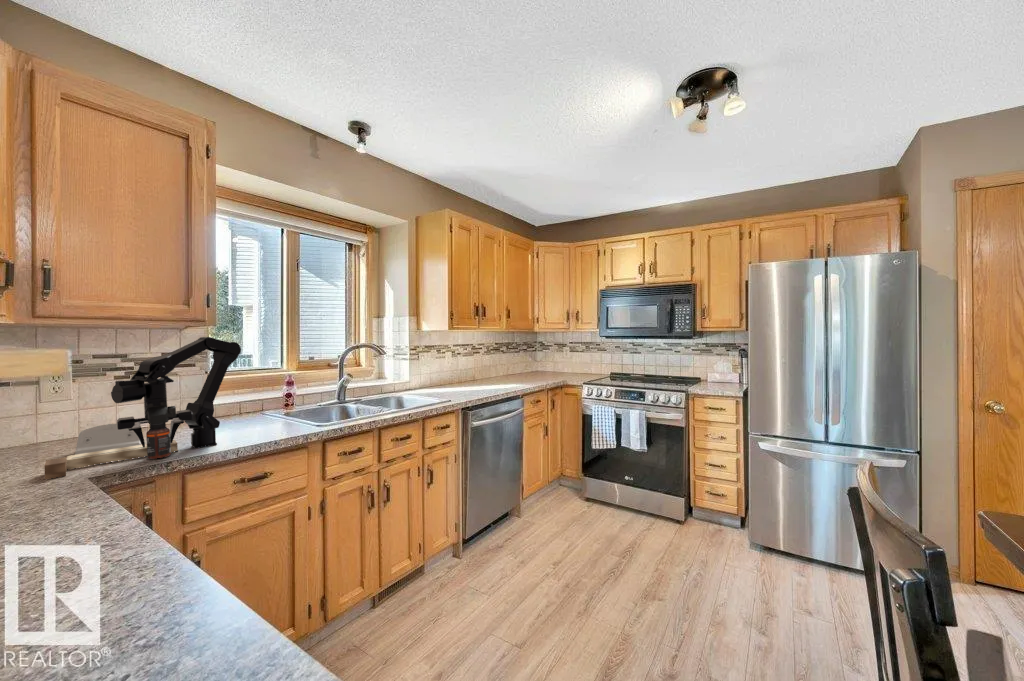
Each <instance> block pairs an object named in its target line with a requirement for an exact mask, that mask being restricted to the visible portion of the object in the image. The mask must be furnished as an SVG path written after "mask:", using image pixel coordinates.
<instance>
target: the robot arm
mask: <svg viewBox="0 0 1024 681" xmlns="http://www.w3.org/2000/svg"><path fill="white" fill-rule="evenodd" d="M206 350H207V351H209V352H212V360H213V364H212V366H211V368H210V370H209V372H208V374H207V376H206V379H205V382H204V383H203V386H202V388H201V390H200V393H199V395H198V397H197V399H196V400H195V401H194V402H187V404H186V407H185V409H184V410H183V409H182V410H177V409H176V405H171V406H170V405H169V406H168V394H167V393H168V392H167V384H169V383H174V379H172V378H170V377H169V376H168V374H169V373H171V372H172V371H174V370H175V368H176V367H177V366H178V365H179V364H181V363H182V362H185V361H187V360H188V359H191V358H193V357H195V356H197V355H198V354H201V353H202V352H205V351H206ZM241 351H242V348H241V345H240V344H239V343H238V342H236V341H225V340H221V339H217V338H214V337H211V336H201V337H199V338H197V339H196V340H194V341H192V342H190V343H187V344H186V345H184V346H182V347H179V348H178V349H174V350H173V351H171V352H169V353H166V354H163V355H158V356H154V357H151V358H148V359H145V360H143V361H141V362H140V363H139V365H138V368H137V370H136V372H135V373H134V374H133V375H132V376H131V378H130V380H129V379H128V380H127V379H126V380H115V382H114V383H115V384H114V385H113V387H112V390H111V392H110V396H111V399H112V400H113V402H114V403H115V404H123V403H129V402H136V401H141V400H142V399H143V411H144V417H139V418H135V417H134V416H125V417H119V418H117V419H116V424H117V428H118V430H121V429H129V431H132V430H133V431H134V432H135V433H136V435H137V436H138V438H139V440H140V442H141V444H142V446H143V448H145V444H146V442H145V438H144V433H143V430H142V426H141V425H142V424H149V425H150V424H156V423H168V422H169V421H170V428H169V430H170V443H172V442H173V440H175V435H176V433H177V430H178V428H179V426H180V425H181V424H184V423H185V424H187V426H188V428H189V429H190V430H191V429H192V433H190V445H191V446H192V447H193V446H194V447H195V448H194V447H193V448H194V449H199V448H198V447H200V448H205V446H206V447H212V446H217V445H218V443H217V440H216V435H217V433H216V429H218V428H219V427H220V424H221V422H220V420H218V419H217V418H216V417H214V413H215V407H214V406H215V405H214V401H215V399H216V397H217V394H218V393H219V390H220V388H221V385H222V383H223V381H224V378H225V376H226V374H227V370H228V368H229V366H231V365H232V364H233V363H234V362H235V361H237V359H238V357H239V355H240V354H241Z"/></svg>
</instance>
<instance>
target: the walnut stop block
mask: <svg viewBox="0 0 1024 681" xmlns="http://www.w3.org/2000/svg"><path fill="white" fill-rule="evenodd" d="M43 467H44V480H46V479H47V480H52V479H51V478H53V479H57V478H56V477H58V478H63V477H62V476H64V477H66V476H67V473H66V472H68V470H67V456H65V457H59V458H58V457H57V458H52V459H46V461H45V462H44V466H43Z"/></svg>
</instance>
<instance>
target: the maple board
mask: <svg viewBox="0 0 1024 681" xmlns="http://www.w3.org/2000/svg"><path fill="white" fill-rule="evenodd" d="M174 451H178V442H177V441H176V439H173V442H172V443H171V452H173V453H175V452H174ZM144 456H148V455H147V443H145V448H143V446H142V445H137V446H130V447H124V448H117V449H110V450H104V451H97V452H90V453H84V454H77V455H75V454H72V455H67V456H66V459H67V469H70V470H74V469H73V468H76V469H80V468H79V467H82V468H85V467H84V466H88V465H94V464H100V463H106V462H111V461H118V460H124V461H126V460H125V459H130V460H133V459H132V458H136V459H139V458H138V457H143V458H145V457H144ZM118 462H119V461H118ZM106 464H107V463H106ZM100 465H101V464H100ZM94 466H95V465H94ZM88 467H89V466H88Z"/></svg>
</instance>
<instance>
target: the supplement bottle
mask: <svg viewBox="0 0 1024 681" xmlns="http://www.w3.org/2000/svg"><path fill="white" fill-rule="evenodd" d="M166 423H167V422H166ZM166 423H156V424H149V430H147V431H146V444H147V455H148V457H147V459H149V460H158V459H157V458H160V459H163V457H164V458H167V457H169V456H171V454H172V453H171V443H170V428H168V427H167V425H166Z"/></svg>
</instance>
